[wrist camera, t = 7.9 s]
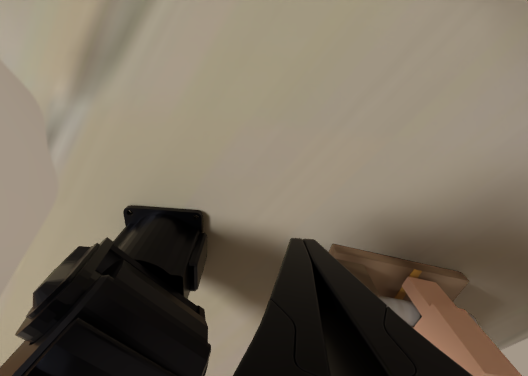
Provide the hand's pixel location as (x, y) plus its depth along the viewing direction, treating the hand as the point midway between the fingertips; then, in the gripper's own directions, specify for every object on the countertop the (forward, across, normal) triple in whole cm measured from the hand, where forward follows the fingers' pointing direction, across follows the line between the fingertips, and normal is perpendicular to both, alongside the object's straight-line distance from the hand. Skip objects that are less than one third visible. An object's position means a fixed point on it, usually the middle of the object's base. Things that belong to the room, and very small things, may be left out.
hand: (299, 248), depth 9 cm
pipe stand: (+12, -13, +13) cm, 22 cm away
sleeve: (+10, -14, +13) cm, 22 cm away
